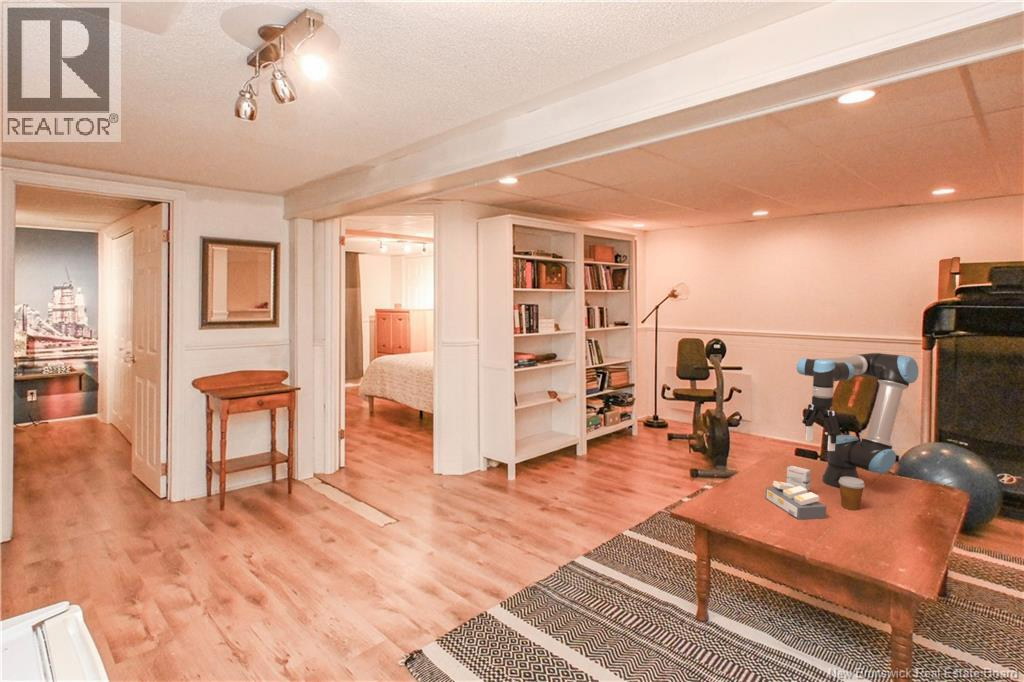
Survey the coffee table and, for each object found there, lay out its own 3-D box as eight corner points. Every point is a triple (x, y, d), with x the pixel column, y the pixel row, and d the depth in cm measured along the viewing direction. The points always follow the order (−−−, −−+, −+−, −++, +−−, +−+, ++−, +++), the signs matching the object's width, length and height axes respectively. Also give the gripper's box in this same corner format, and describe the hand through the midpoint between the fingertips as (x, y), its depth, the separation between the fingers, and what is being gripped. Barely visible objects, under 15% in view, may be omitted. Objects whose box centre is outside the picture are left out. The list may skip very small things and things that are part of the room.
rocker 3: (811, 496, 221) (811, 491, 221) (819, 500, 217) (818, 495, 216) (794, 501, 220) (793, 496, 220) (801, 505, 216) (800, 500, 215)
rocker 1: (788, 487, 235) (790, 483, 235) (795, 491, 230) (796, 486, 230) (772, 485, 234) (773, 480, 234) (779, 488, 229) (780, 484, 229)
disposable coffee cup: (867, 512, 221) (869, 484, 220) (842, 510, 223) (844, 483, 222) (857, 503, 230) (859, 476, 229) (833, 501, 232) (835, 475, 231)
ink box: (809, 495, 240) (811, 469, 239) (805, 497, 237) (806, 471, 236) (790, 489, 247) (791, 464, 245) (785, 492, 243) (786, 467, 242)
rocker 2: (800, 490, 228) (799, 485, 228) (807, 494, 223) (807, 489, 223) (783, 494, 227) (782, 490, 227) (790, 498, 223) (789, 494, 222)
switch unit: (790, 497, 237) (791, 485, 237) (825, 518, 216) (826, 504, 215) (764, 498, 236) (765, 486, 235) (797, 519, 214) (798, 506, 214)
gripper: (795, 390, 235) (792, 437, 237) (835, 403, 210) (832, 455, 212) (810, 390, 236) (808, 437, 238) (853, 402, 211) (849, 454, 213)
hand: (819, 445), depth 225 cm, fingers open, 13 cm apart
